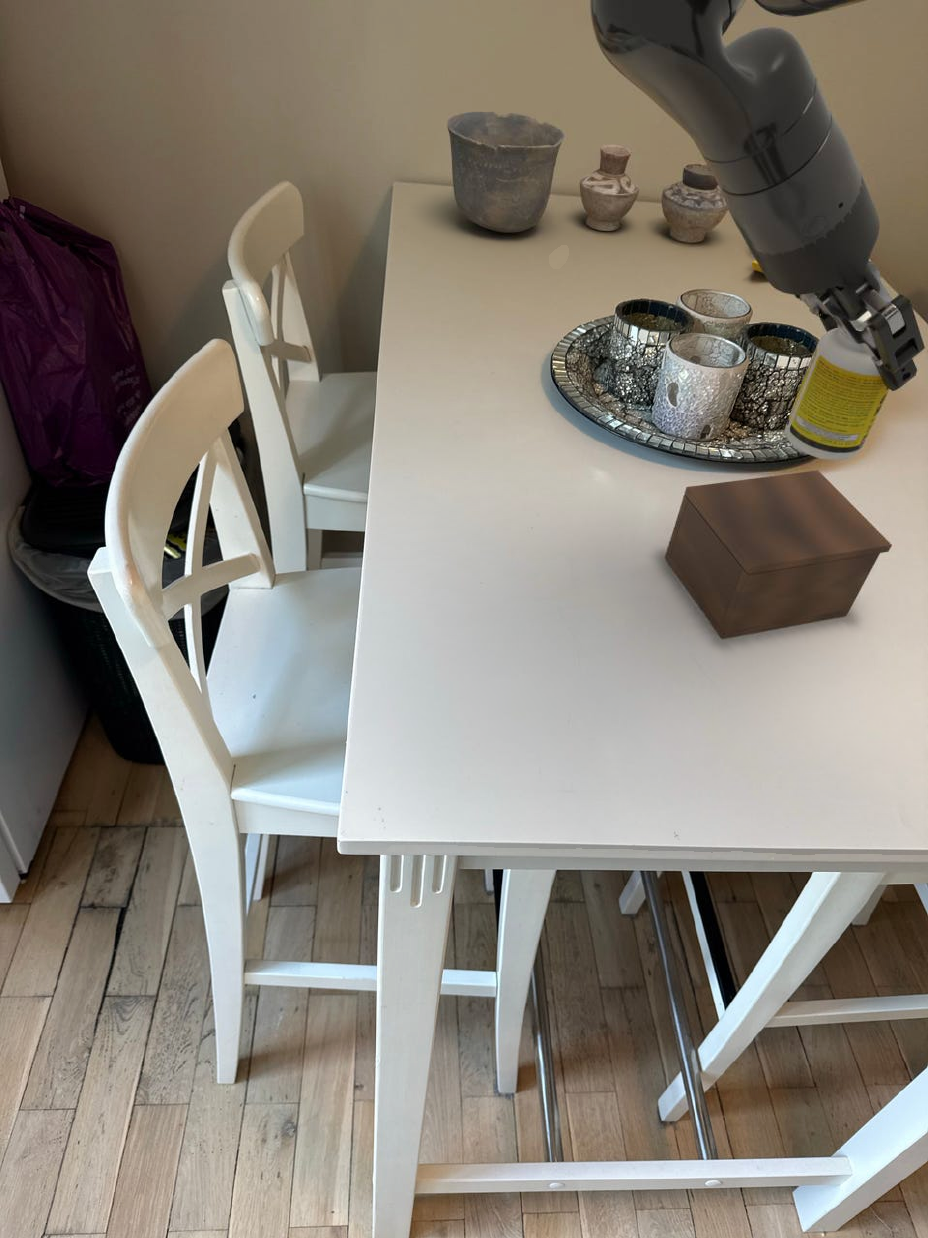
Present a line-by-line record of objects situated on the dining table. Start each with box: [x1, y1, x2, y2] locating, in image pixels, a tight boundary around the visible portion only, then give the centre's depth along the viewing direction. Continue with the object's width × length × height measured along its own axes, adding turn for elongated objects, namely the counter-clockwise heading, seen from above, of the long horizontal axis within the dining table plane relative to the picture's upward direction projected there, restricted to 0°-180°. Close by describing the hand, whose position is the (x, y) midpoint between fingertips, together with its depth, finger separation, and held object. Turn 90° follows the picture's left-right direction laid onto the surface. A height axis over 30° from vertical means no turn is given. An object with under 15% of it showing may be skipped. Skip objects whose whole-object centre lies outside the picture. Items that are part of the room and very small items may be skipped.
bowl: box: [446, 111, 565, 234], centre depth 141 cm, size 18×18×15 cm
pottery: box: [579, 144, 729, 244], centre depth 146 cm, size 11×25×12 cm, turn 83°
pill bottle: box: [784, 311, 890, 461], centre depth 68 cm, size 6×6×11 cm
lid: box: [684, 469, 893, 574], centre depth 80 cm, size 14×12×1 cm
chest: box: [664, 494, 881, 640], centre depth 83 cm, size 14×12×8 cm
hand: (874, 357), depth 67 cm, fingers closed on pill bottle, 6 cm apart
